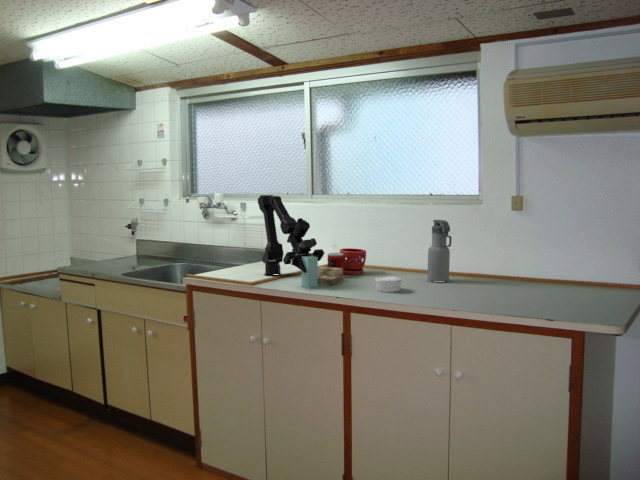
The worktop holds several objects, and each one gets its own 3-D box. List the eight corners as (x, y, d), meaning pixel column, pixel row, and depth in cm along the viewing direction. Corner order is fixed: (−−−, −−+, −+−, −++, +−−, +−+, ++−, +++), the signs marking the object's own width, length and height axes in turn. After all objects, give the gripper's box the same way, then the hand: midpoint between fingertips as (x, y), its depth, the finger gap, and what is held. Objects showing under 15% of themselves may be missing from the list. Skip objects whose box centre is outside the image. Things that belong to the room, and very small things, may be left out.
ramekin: (386, 286, 233) (386, 274, 233) (406, 290, 226) (407, 278, 225) (369, 290, 226) (369, 278, 225) (390, 294, 218) (390, 281, 217)
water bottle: (454, 281, 244) (455, 220, 241) (436, 283, 240) (438, 221, 236) (439, 278, 253) (441, 219, 250) (423, 279, 249) (424, 219, 245)
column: (301, 285, 234) (301, 256, 233) (311, 284, 237) (311, 255, 236) (307, 287, 230) (307, 258, 229) (317, 286, 233) (317, 257, 232)
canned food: (343, 275, 261) (344, 252, 260) (343, 278, 254) (343, 255, 252) (328, 274, 262) (328, 252, 261) (326, 277, 254) (326, 254, 253)
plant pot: (348, 276, 257) (349, 252, 256) (334, 272, 269) (334, 248, 267) (371, 274, 264) (371, 250, 262) (356, 270, 275) (356, 247, 274)
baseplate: (304, 283, 241) (304, 277, 240) (316, 277, 254) (316, 272, 253) (333, 285, 235) (333, 279, 235) (344, 280, 248) (344, 274, 248)
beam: (315, 274, 250) (315, 267, 249) (317, 272, 253) (317, 266, 252) (339, 275, 245) (339, 269, 245) (341, 274, 248) (341, 268, 248)
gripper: (286, 233, 229) (299, 262, 221) (322, 231, 240) (336, 258, 232) (277, 249, 237) (290, 278, 229) (312, 246, 247) (326, 273, 239)
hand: (311, 271), depth 232 cm, fingers closed on column, 5 cm apart
